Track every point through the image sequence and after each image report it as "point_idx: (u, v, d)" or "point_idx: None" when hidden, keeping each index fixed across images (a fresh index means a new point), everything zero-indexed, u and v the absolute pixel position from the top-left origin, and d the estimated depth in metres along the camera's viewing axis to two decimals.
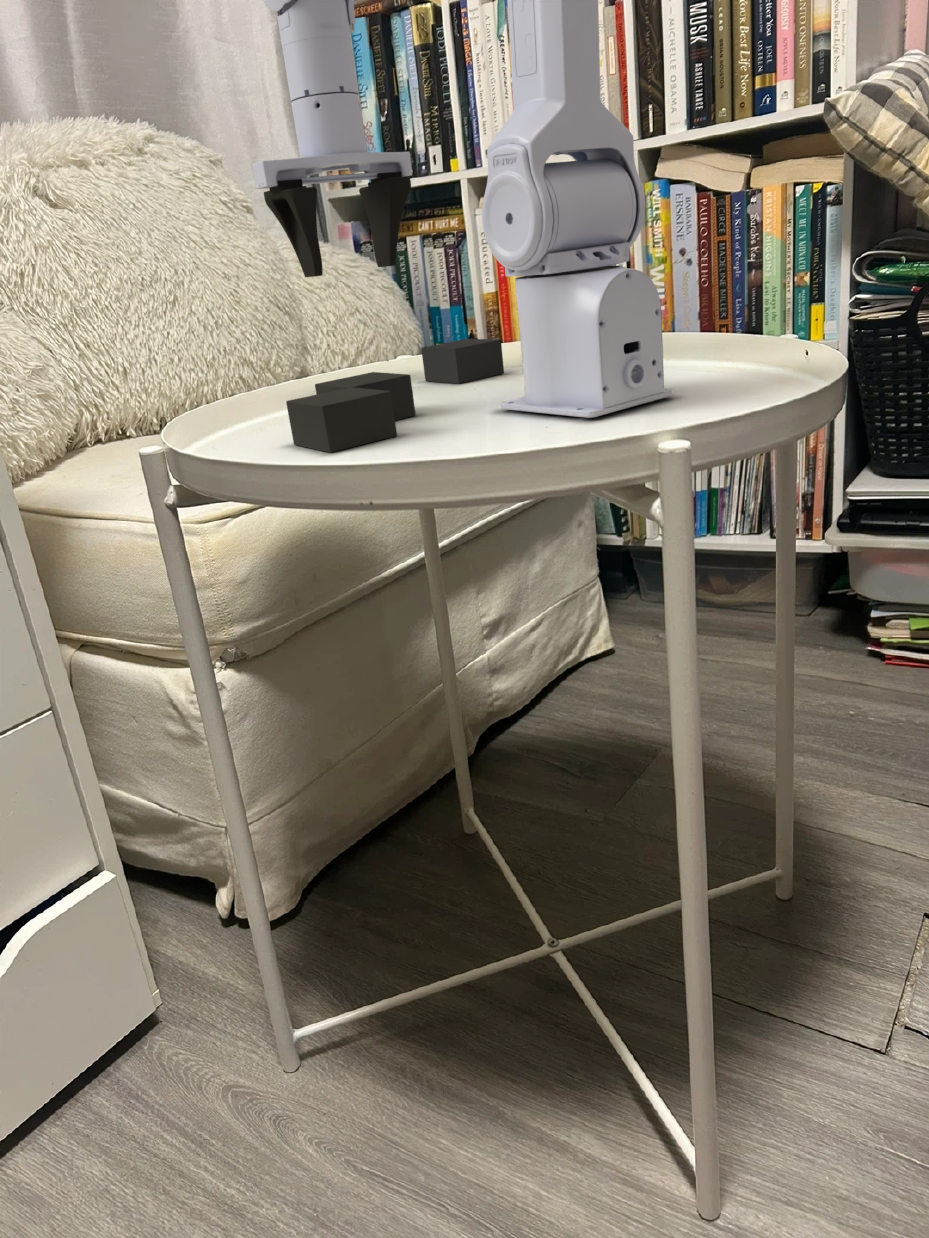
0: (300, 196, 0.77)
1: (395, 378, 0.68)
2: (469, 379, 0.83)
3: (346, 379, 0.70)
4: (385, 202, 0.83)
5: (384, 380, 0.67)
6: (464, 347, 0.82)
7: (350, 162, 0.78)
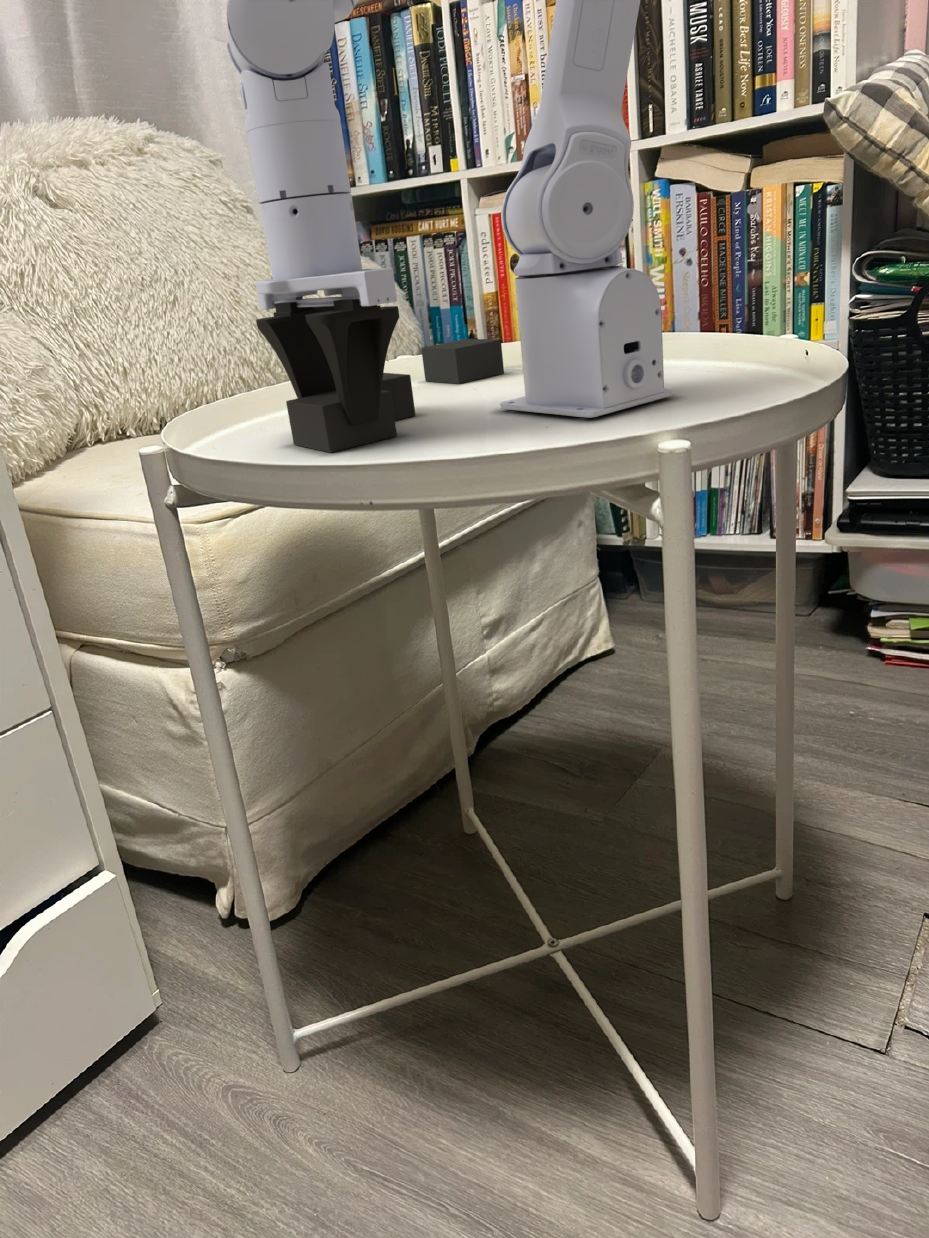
0: None
1: (395, 378, 0.68)
2: (469, 379, 0.83)
3: None
4: None
5: (384, 380, 0.67)
6: (464, 347, 0.82)
7: None
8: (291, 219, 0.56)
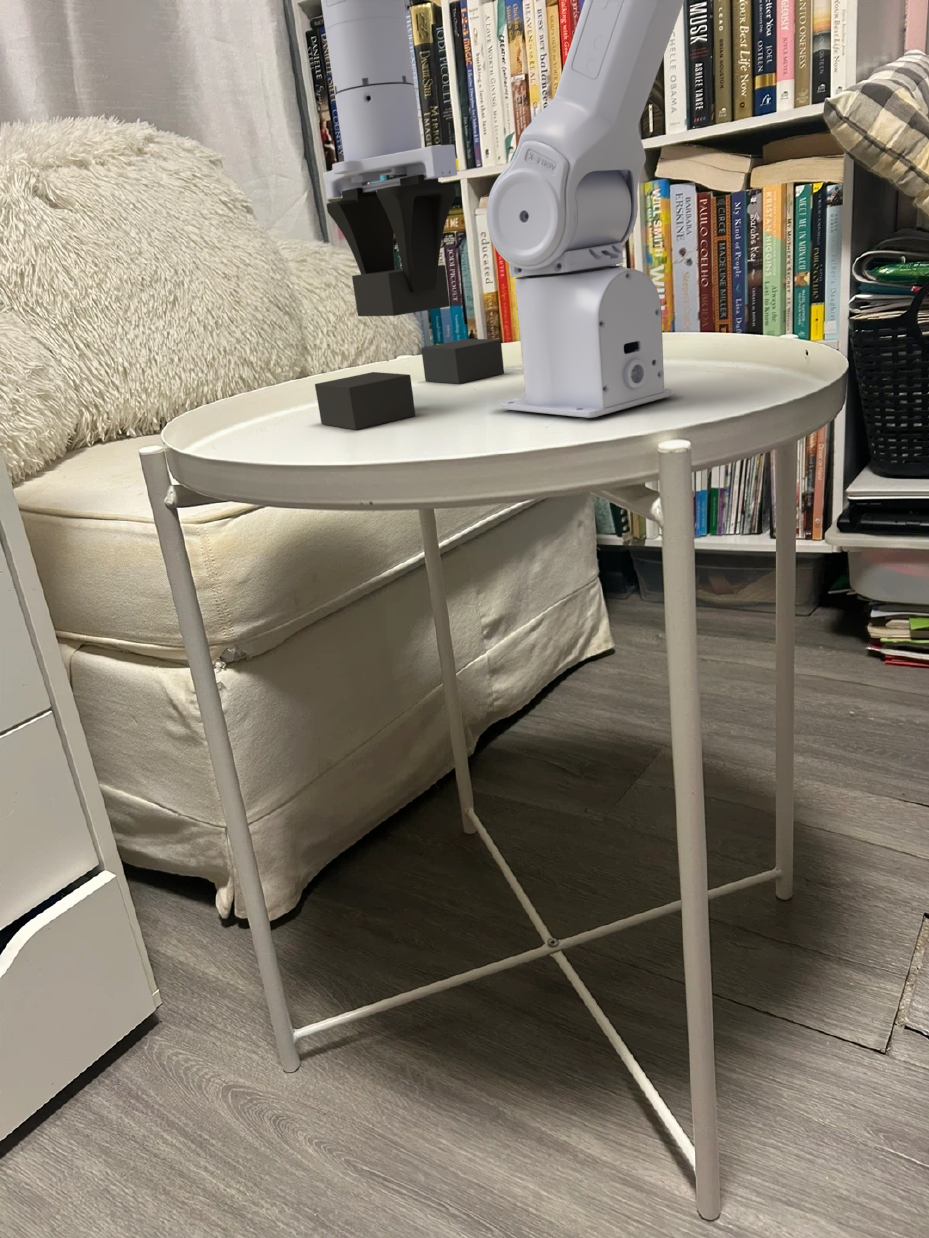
0: None
1: (395, 378, 0.68)
2: (469, 379, 0.83)
3: (346, 379, 0.70)
4: (387, 219, 0.73)
5: (384, 380, 0.67)
6: (464, 347, 0.82)
7: None
8: (365, 105, 0.65)
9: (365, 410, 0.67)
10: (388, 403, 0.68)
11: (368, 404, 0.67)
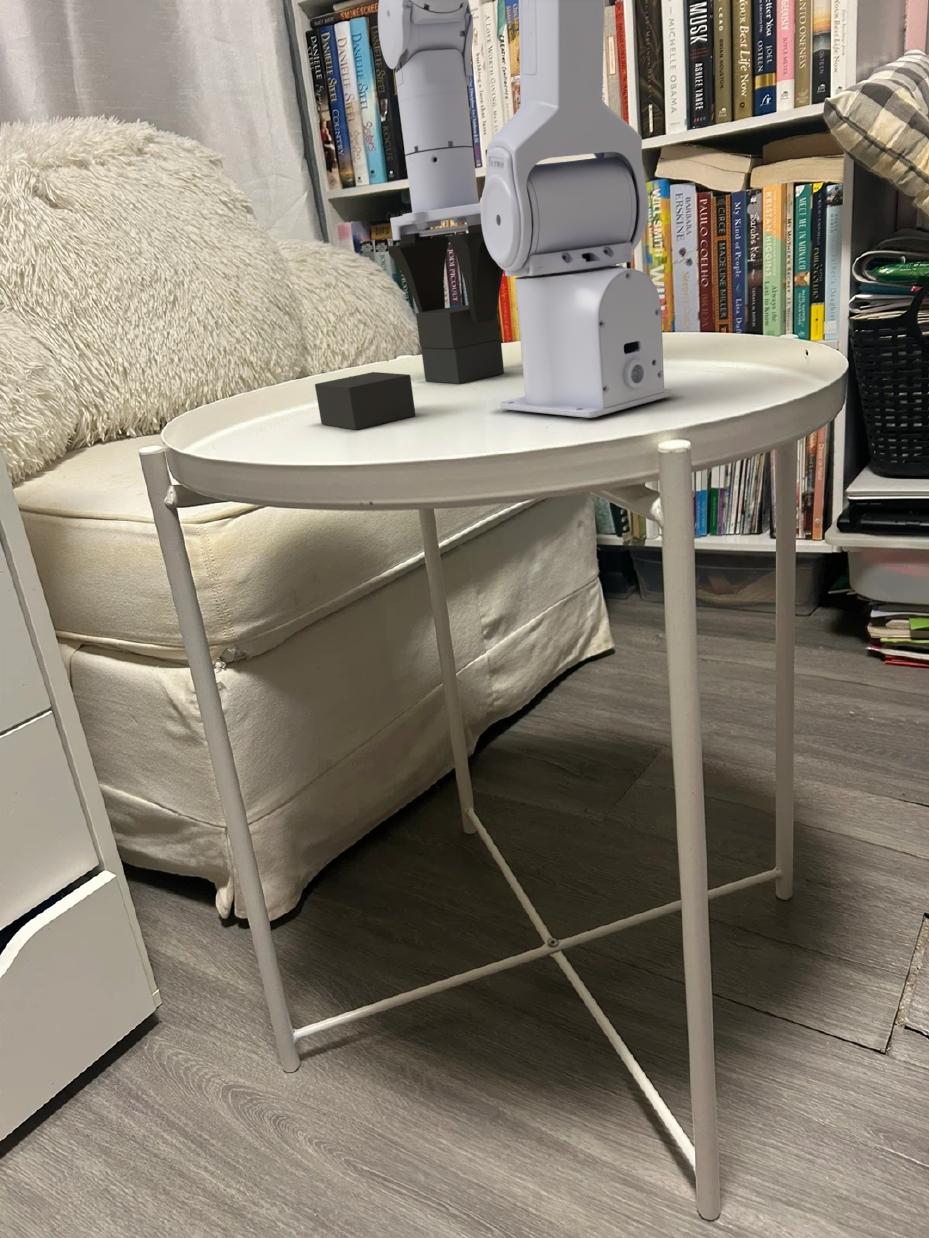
0: None
1: (395, 378, 0.68)
2: (469, 379, 0.83)
3: (346, 379, 0.70)
4: (439, 259, 0.85)
5: (384, 380, 0.67)
6: (464, 347, 0.82)
7: None
8: (432, 165, 0.76)
9: (365, 410, 0.67)
10: (388, 403, 0.68)
11: (368, 404, 0.67)
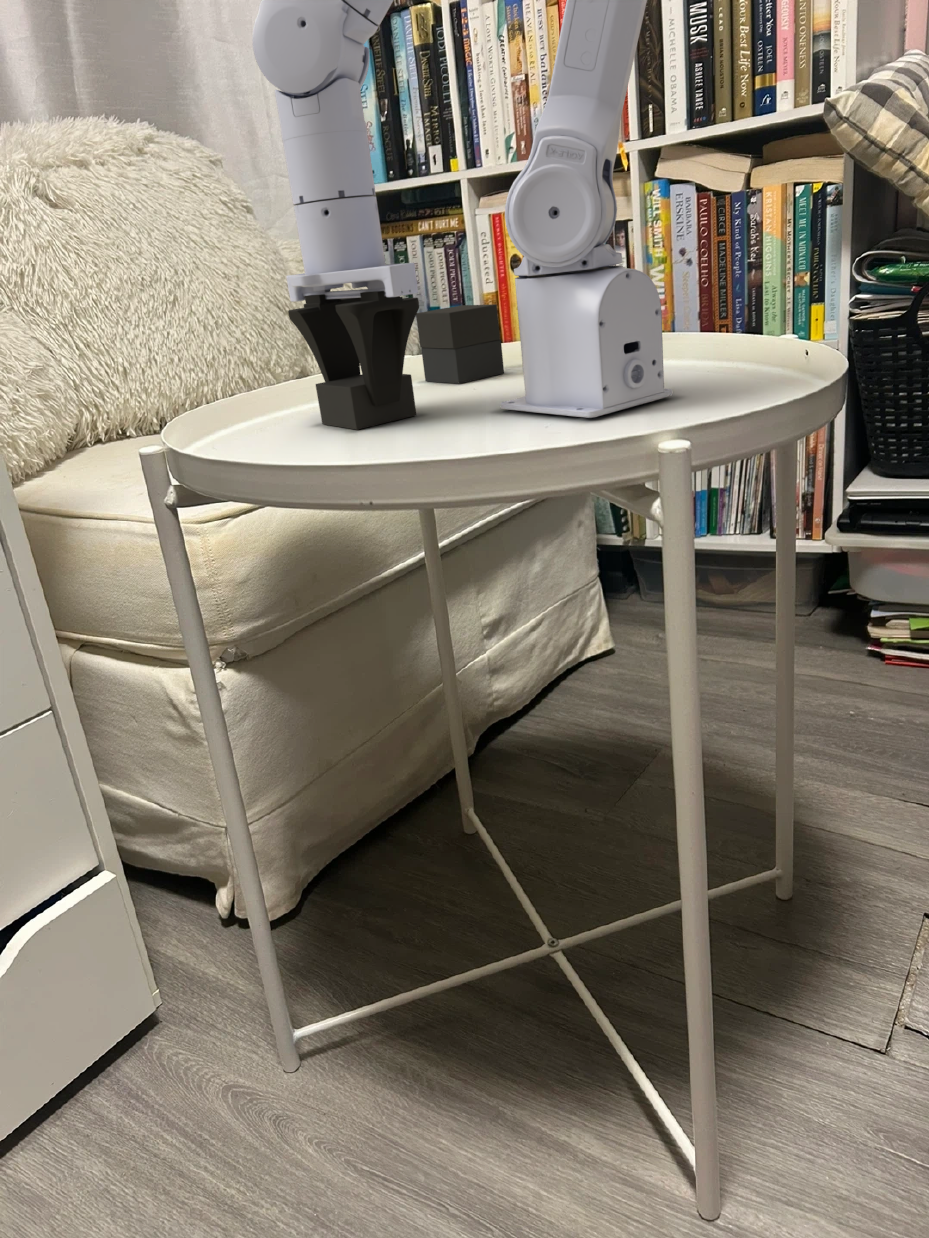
0: None
1: None
2: (469, 379, 0.83)
3: (347, 379, 0.70)
4: None
5: None
6: (464, 347, 0.82)
7: None
8: (323, 219, 0.62)
9: (366, 410, 0.67)
10: (389, 403, 0.68)
11: (369, 404, 0.67)
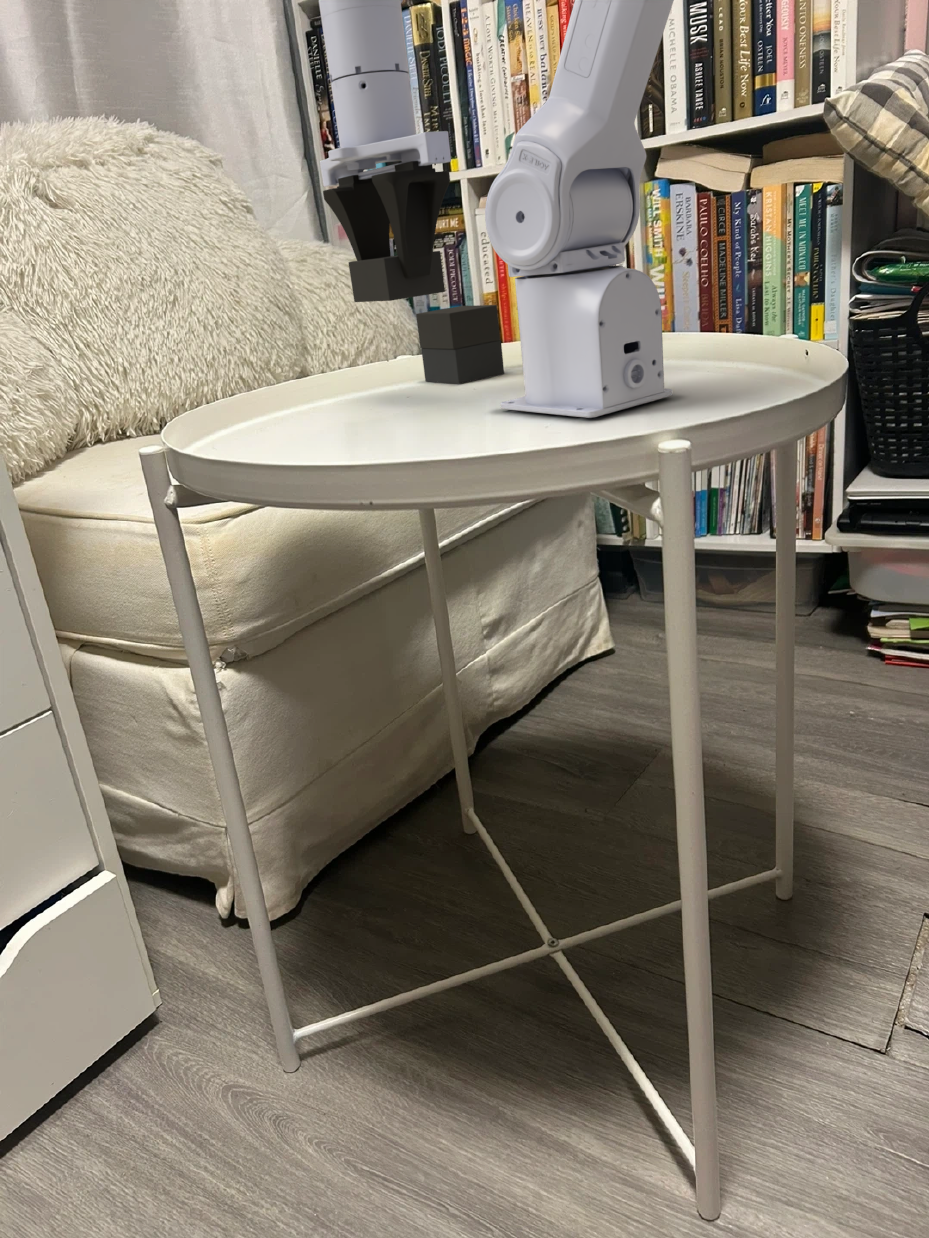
0: None
1: None
2: (469, 380, 0.83)
3: None
4: (383, 206, 0.74)
5: None
6: (464, 348, 0.82)
7: None
8: (360, 92, 0.66)
9: (399, 282, 0.70)
10: (419, 277, 0.71)
11: (401, 276, 0.70)
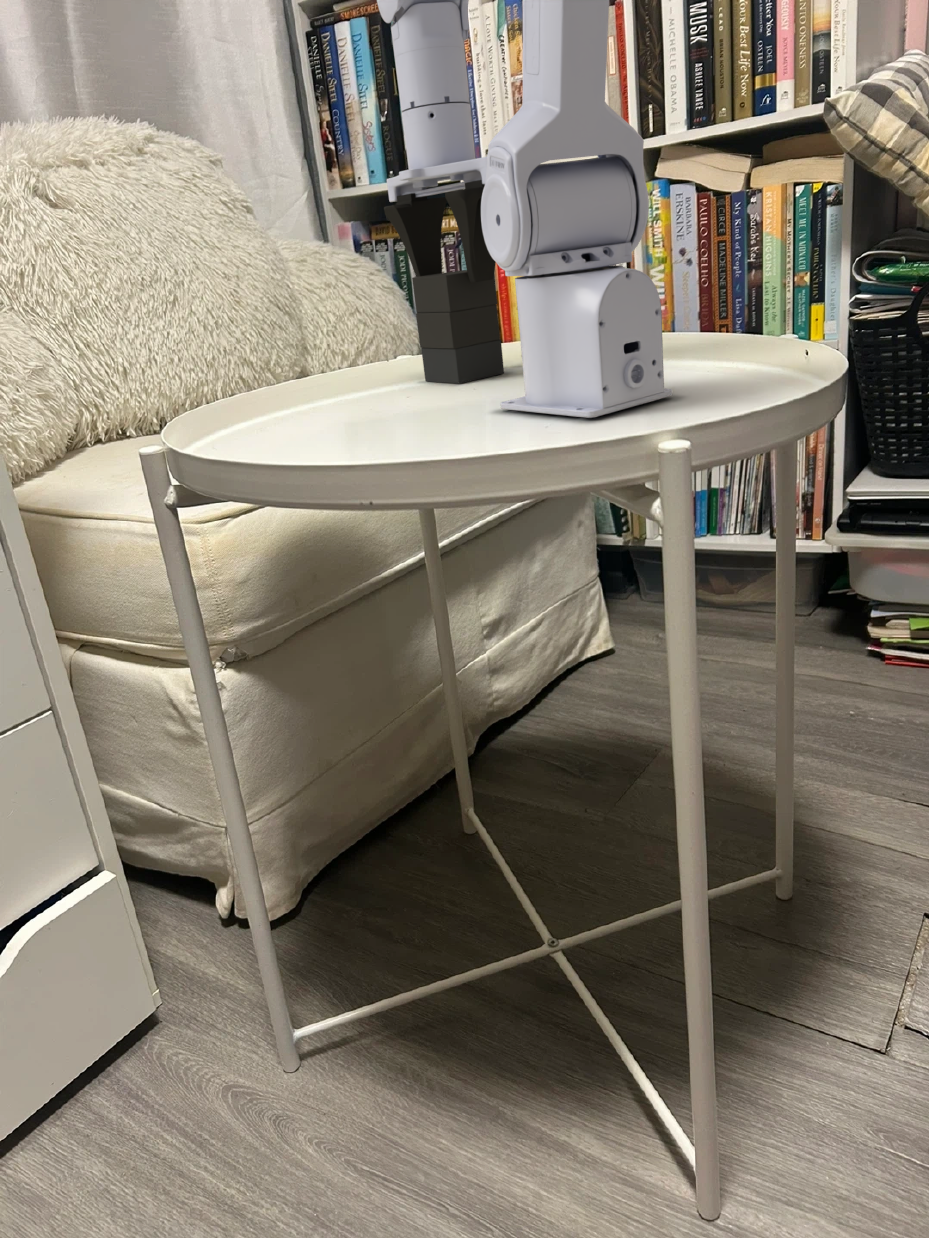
0: None
1: None
2: (469, 379, 0.83)
3: (438, 274, 0.83)
4: (435, 220, 0.84)
5: None
6: (464, 347, 0.82)
7: None
8: (429, 121, 0.75)
9: (458, 296, 0.80)
10: (476, 292, 0.81)
11: (460, 291, 0.80)
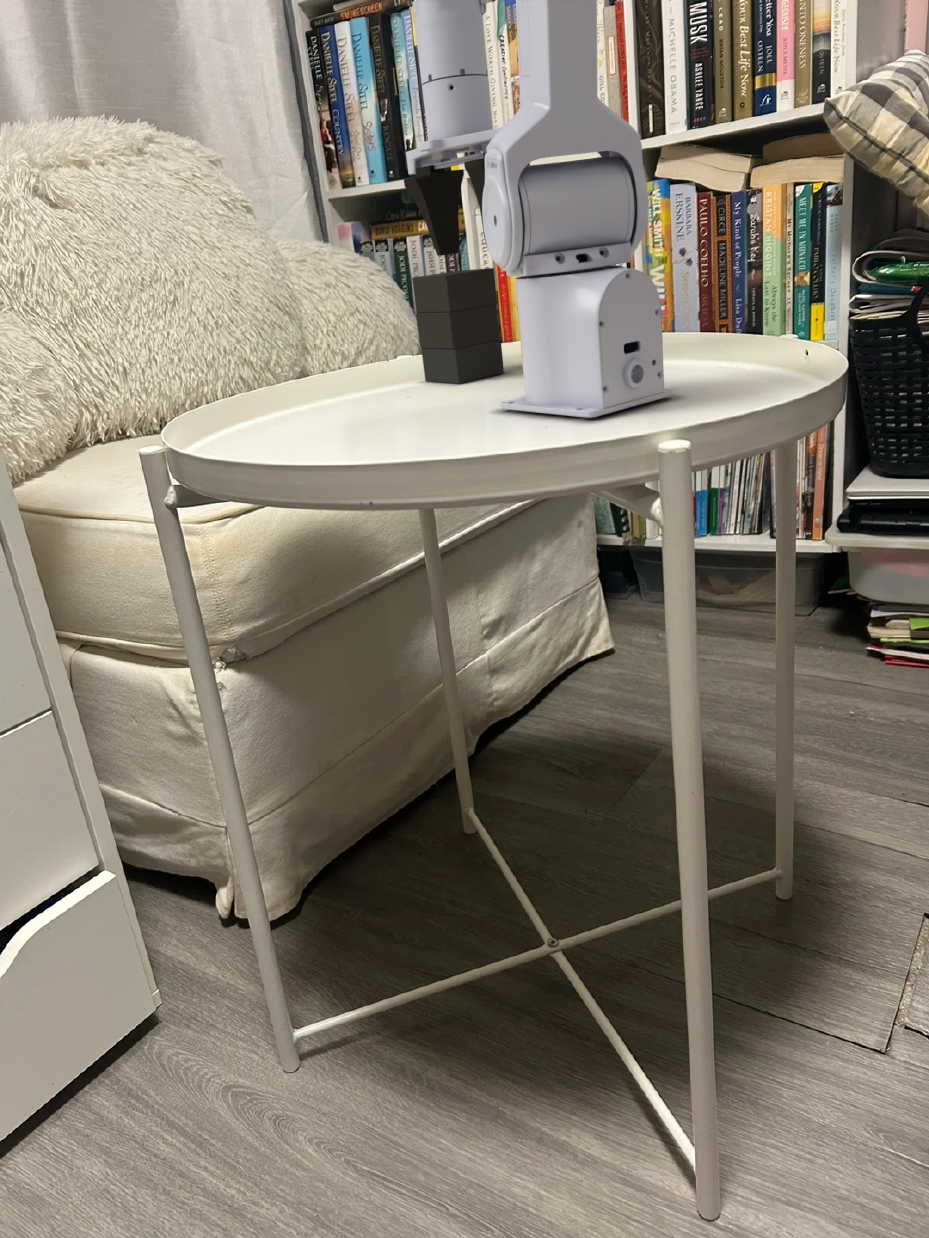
0: None
1: (482, 270, 0.81)
2: (469, 379, 0.83)
3: (438, 274, 0.83)
4: (453, 192, 0.87)
5: (473, 271, 0.80)
6: (464, 347, 0.82)
7: None
8: (449, 93, 0.78)
9: (458, 296, 0.80)
10: (476, 292, 0.81)
11: (460, 291, 0.80)
